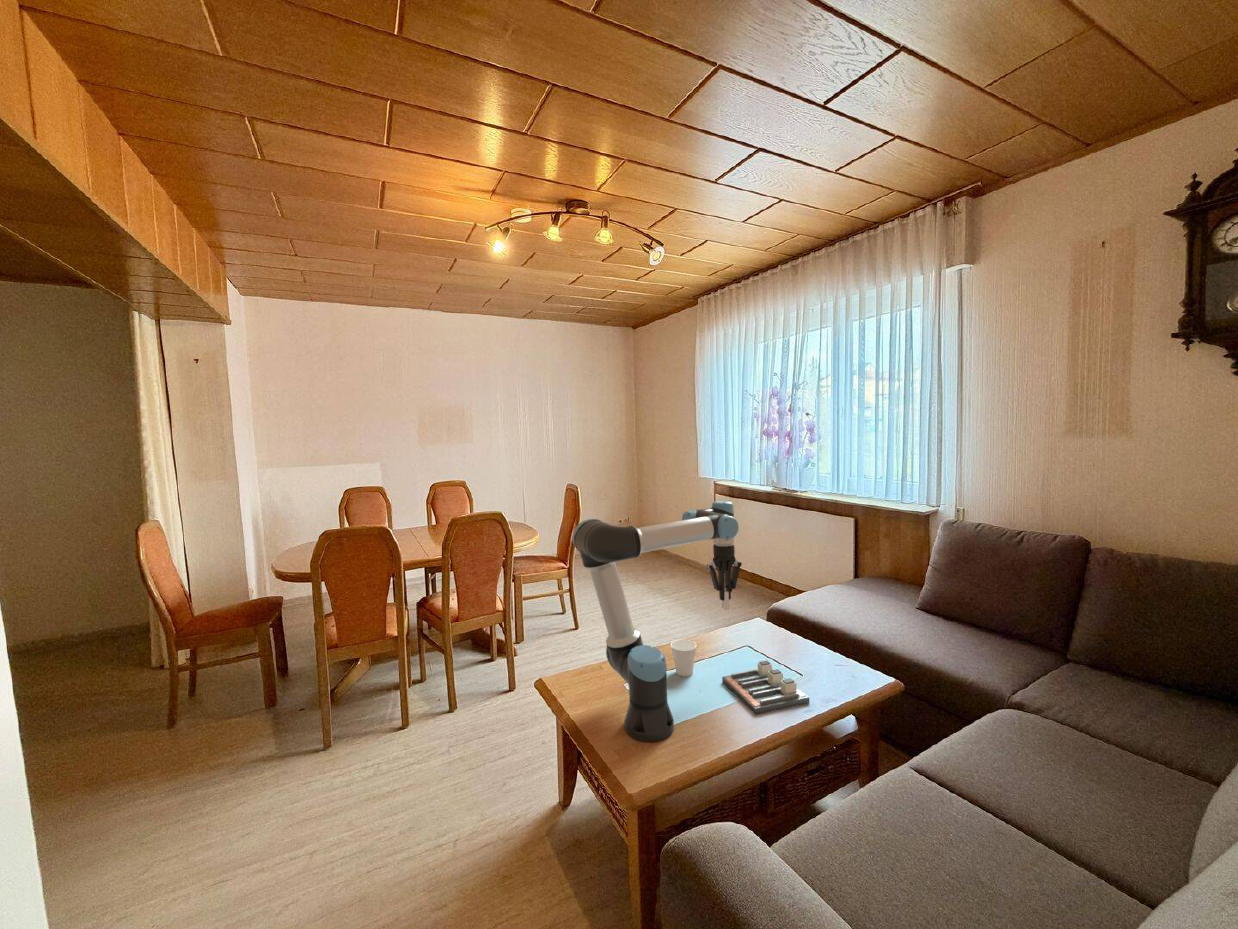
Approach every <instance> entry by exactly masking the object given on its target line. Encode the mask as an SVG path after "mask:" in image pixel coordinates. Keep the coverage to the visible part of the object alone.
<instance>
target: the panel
mask: <svg viewBox="0 0 1238 929" xmlns="http://www.w3.org/2000/svg"><path fill="white" fill-rule="evenodd" d="M772 670H774V669H773V668H772ZM721 679H722V681H721V682H722V683H723V685H725V686H726V688H727V689H729V690H730V691H731V692H732V693H733V694H734V695H735V696H736V697H737V698H738V699H739V700H740V701H741V702H742V703H743V704H744V705H745V706H746V707H747V708H748V709H749V710H750V711H751V712H752V713H753V714H754V715H755V716H757V715H761V714H767V713H771V712H775V711H781V710H786V709H789V707H790V708H794V707H798V706H797V705H799V706H803V705H808V704H810V696H808V695H807V694H806V693H804V692H803V691H802V690H801V689H799V688H798V687H797V692H796V693H791V694H786V695H784V694H782V693H781V683H779V684H774V685H770V684H769V683H768V674H766V675H761V676H760V675H759V674H758V668H757V669H751V670H745V671H744V670H743V671H740V672H734V673H731V675H726V676H722V677H721ZM784 679H786V678H785V677H784V676H783V680H784ZM807 703H808V704H807ZM793 706H794V707H793Z"/></svg>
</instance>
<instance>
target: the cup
mask: <svg viewBox="0 0 1238 929" xmlns="http://www.w3.org/2000/svg"><path fill="white" fill-rule="evenodd" d="M669 645H670V648H671V652H672V656H673V662H674V668H675V672H676V675H678V676H679V677H684V678H685V677H691V675H693V672H694V668H695V667H694V665H695V658H696V651H697V647H698V646H697V643H696V642H695V641H693V640H689V639H675V640H673V641H672V642H671V643H670V644H669Z"/></svg>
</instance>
